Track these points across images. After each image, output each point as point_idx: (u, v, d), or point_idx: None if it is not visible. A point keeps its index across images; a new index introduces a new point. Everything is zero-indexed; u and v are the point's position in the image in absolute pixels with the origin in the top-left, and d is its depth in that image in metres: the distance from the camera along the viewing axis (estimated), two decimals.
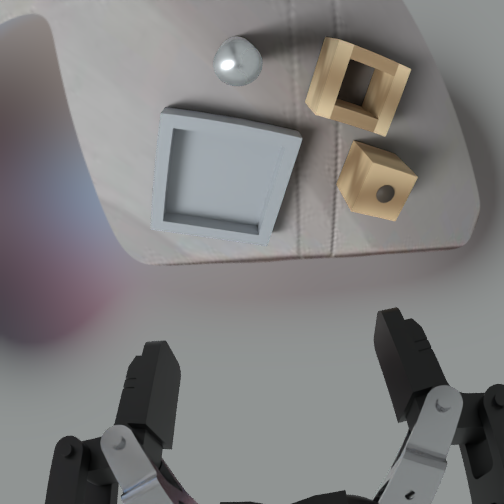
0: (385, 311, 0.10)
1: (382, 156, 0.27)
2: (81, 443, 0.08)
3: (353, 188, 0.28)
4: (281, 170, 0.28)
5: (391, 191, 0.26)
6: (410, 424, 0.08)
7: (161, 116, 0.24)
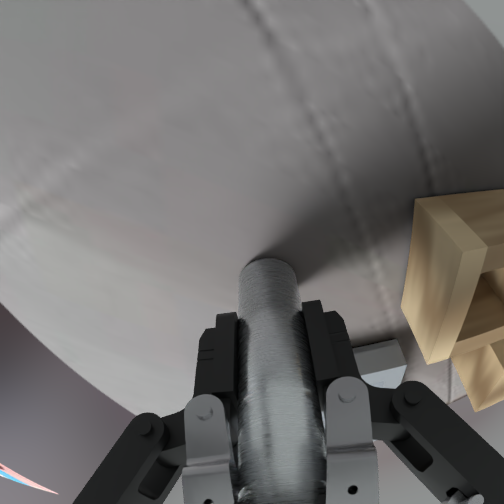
0: (306, 303, 0.12)
1: None
2: (164, 426, 0.08)
3: (477, 385, 0.16)
4: None
5: None
6: (324, 413, 0.09)
7: None
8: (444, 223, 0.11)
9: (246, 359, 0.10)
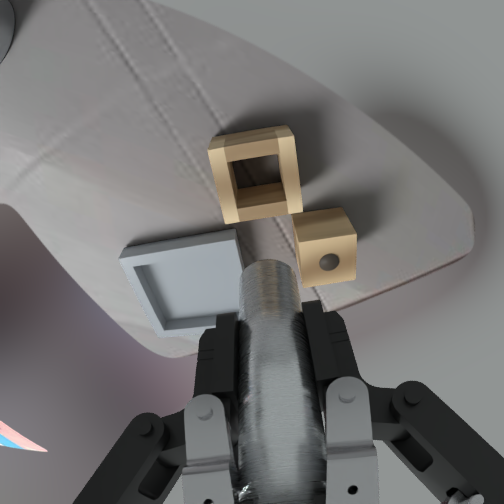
0: (306, 302, 0.12)
1: (318, 223, 0.29)
2: (163, 426, 0.08)
3: (299, 265, 0.30)
4: (232, 269, 0.32)
5: (334, 258, 0.28)
6: (324, 413, 0.09)
7: (120, 261, 0.31)
8: (213, 143, 0.24)
9: (246, 360, 0.10)
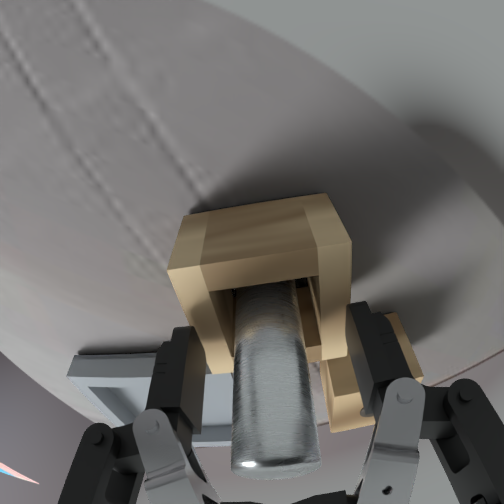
0: (353, 304, 0.11)
1: None
2: (113, 432, 0.08)
3: (328, 405, 0.18)
4: (227, 400, 0.20)
5: None
6: (375, 415, 0.09)
7: (69, 378, 0.19)
8: (182, 240, 0.13)
9: (242, 327, 0.11)
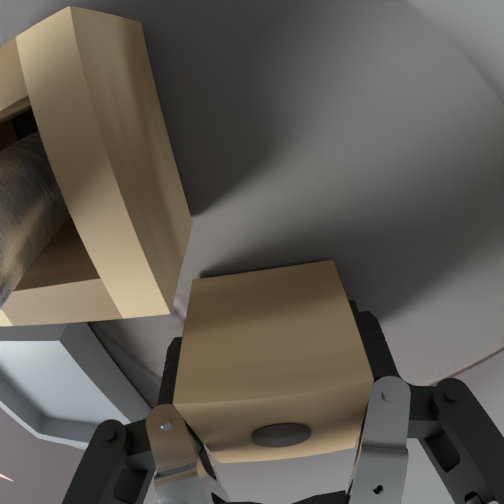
0: None
1: (256, 322, 0.09)
2: (126, 430, 0.08)
3: None
4: (83, 388, 0.12)
5: (297, 428, 0.08)
6: None
7: None
8: None
9: None
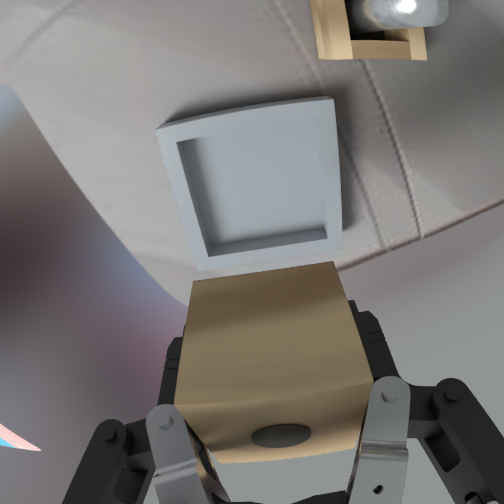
0: None
1: (257, 323, 0.09)
2: (126, 430, 0.08)
3: None
4: (324, 147, 0.21)
5: (297, 429, 0.08)
6: None
7: (157, 133, 0.20)
8: None
9: None
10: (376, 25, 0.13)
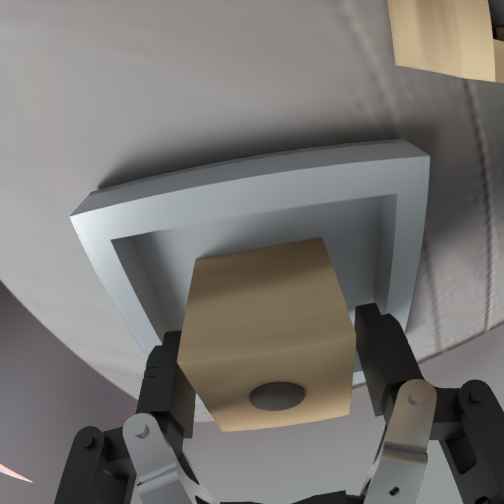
0: (362, 306, 0.11)
1: (252, 290, 0.11)
2: (103, 435, 0.08)
3: None
4: (400, 247, 0.11)
5: (291, 389, 0.10)
6: (386, 418, 0.09)
7: (74, 223, 0.10)
8: None
9: None
10: None
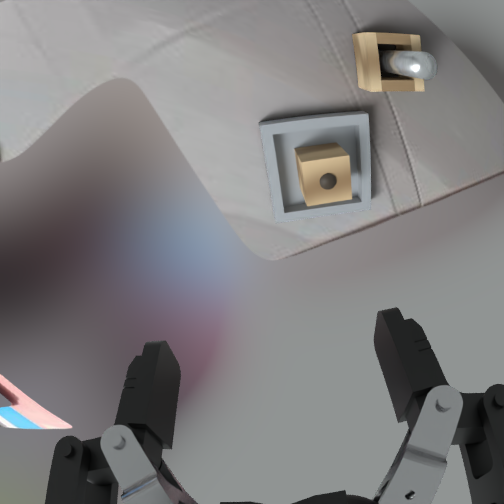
0: (385, 311, 0.10)
1: (317, 151, 0.33)
2: (81, 443, 0.08)
3: (303, 187, 0.34)
4: (362, 143, 0.33)
5: (332, 177, 0.32)
6: (410, 424, 0.08)
7: (260, 128, 0.32)
8: (361, 33, 0.26)
9: (391, 53, 0.25)
10: (397, 72, 0.25)
